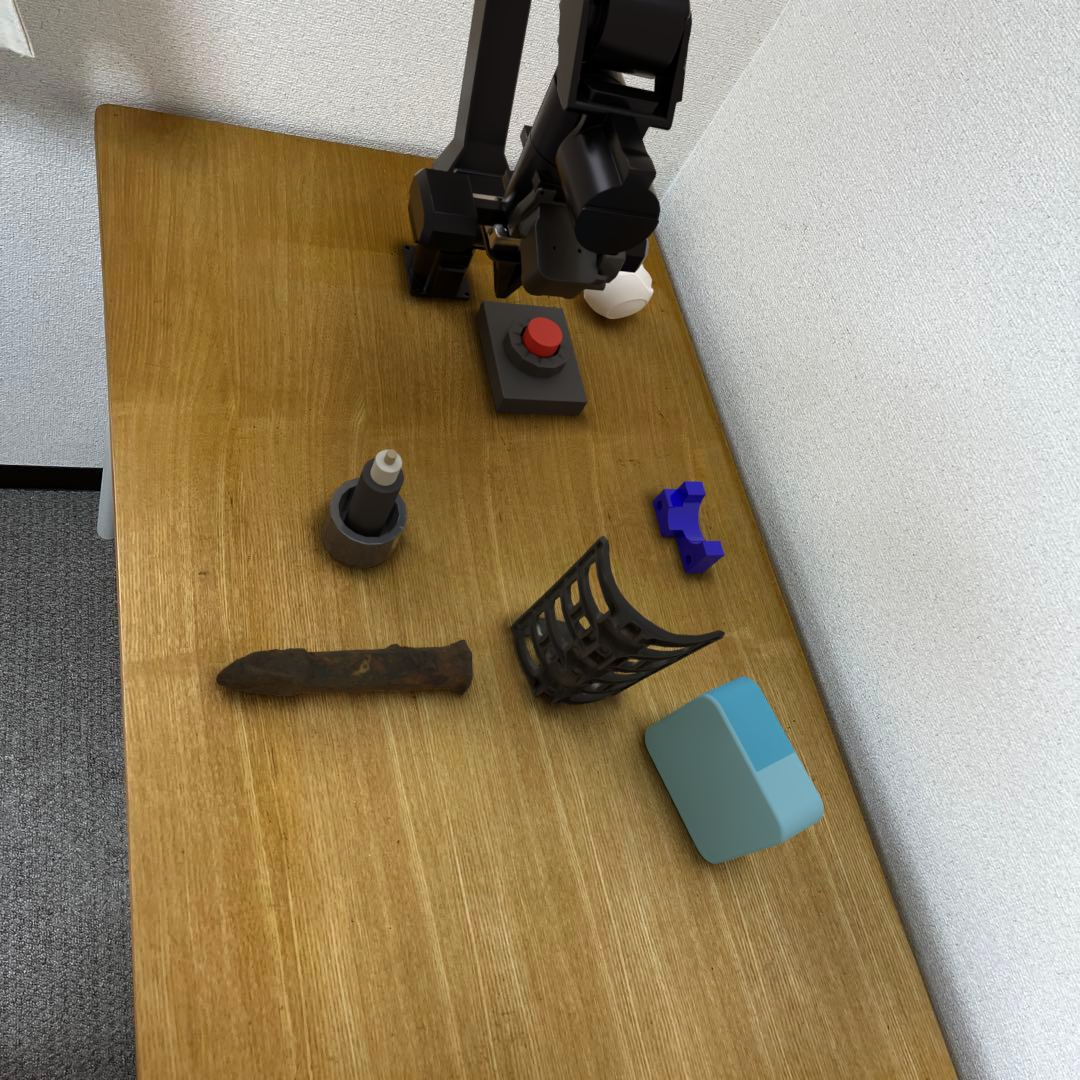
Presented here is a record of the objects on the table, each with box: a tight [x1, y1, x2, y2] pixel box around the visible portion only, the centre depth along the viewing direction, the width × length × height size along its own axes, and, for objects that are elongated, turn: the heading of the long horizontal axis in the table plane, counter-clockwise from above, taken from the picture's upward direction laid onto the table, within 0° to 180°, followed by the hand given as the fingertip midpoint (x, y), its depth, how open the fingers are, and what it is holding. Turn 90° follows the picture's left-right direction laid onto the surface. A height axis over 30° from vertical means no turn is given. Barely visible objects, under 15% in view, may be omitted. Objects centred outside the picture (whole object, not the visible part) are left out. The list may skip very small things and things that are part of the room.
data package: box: [644, 676, 825, 865], centre depth 71 cm, size 12×4×12 cm, turn 27°
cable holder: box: [651, 480, 725, 574], centre depth 87 cm, size 8×4×4 cm, turn 12°
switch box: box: [475, 300, 589, 416], centre depth 90 cm, size 12×9×4 cm
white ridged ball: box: [583, 263, 654, 320], centre depth 97 cm, size 8×8×8 cm
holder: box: [509, 535, 726, 707], centre depth 69 cm, size 11×8×20 cm
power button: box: [522, 317, 562, 357], centre depth 88 cm, size 4×4×2 cm
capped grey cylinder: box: [344, 448, 405, 537], centre depth 71 cm, size 3×3×12 cm
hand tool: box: [215, 638, 474, 698], centre depth 68 cm, size 19×4×5 cm, turn 97°
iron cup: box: [321, 476, 408, 569], centre depth 74 cm, size 6×6×4 cm
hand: (499, 294), depth 77 cm, fingers closed
